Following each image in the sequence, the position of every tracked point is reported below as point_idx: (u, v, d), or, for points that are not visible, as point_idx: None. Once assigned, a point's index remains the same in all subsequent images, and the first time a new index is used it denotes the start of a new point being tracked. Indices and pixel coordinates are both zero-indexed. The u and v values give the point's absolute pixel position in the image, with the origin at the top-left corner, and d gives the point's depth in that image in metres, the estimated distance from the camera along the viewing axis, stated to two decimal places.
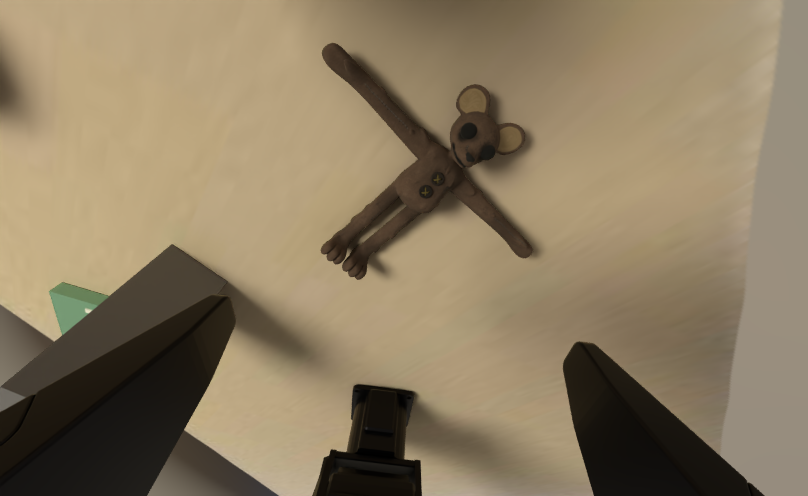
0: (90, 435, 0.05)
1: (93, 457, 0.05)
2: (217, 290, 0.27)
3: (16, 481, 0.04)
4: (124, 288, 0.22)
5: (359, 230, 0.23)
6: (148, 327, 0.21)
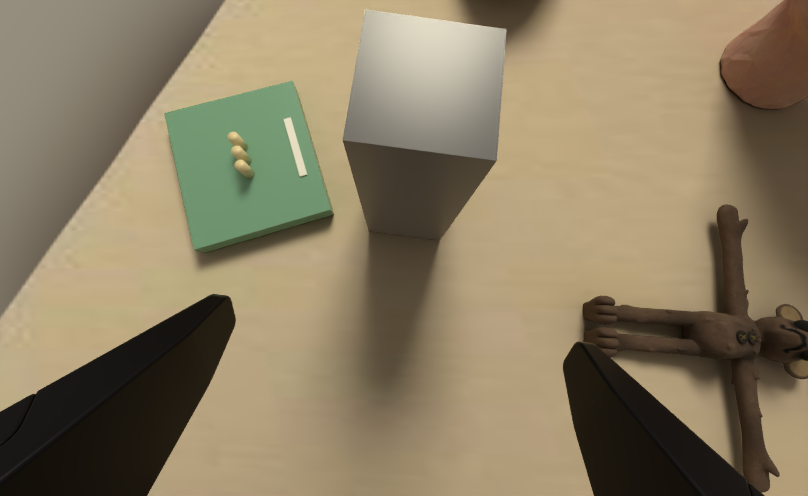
0: (90, 435, 0.05)
1: (93, 457, 0.05)
2: None
3: (16, 481, 0.04)
4: None
5: (626, 318, 0.22)
6: None
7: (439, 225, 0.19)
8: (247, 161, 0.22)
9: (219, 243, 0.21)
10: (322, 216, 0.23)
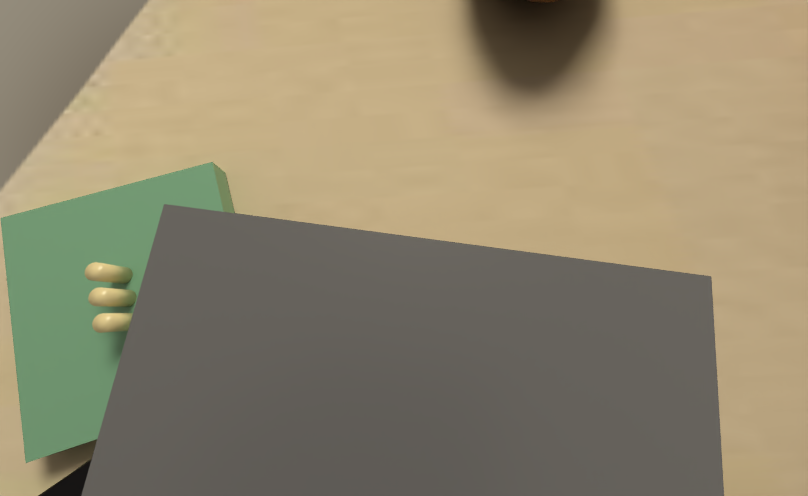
0: None
1: None
2: None
3: None
4: None
5: None
6: None
7: None
8: (126, 303, 0.13)
9: (74, 446, 0.13)
10: None
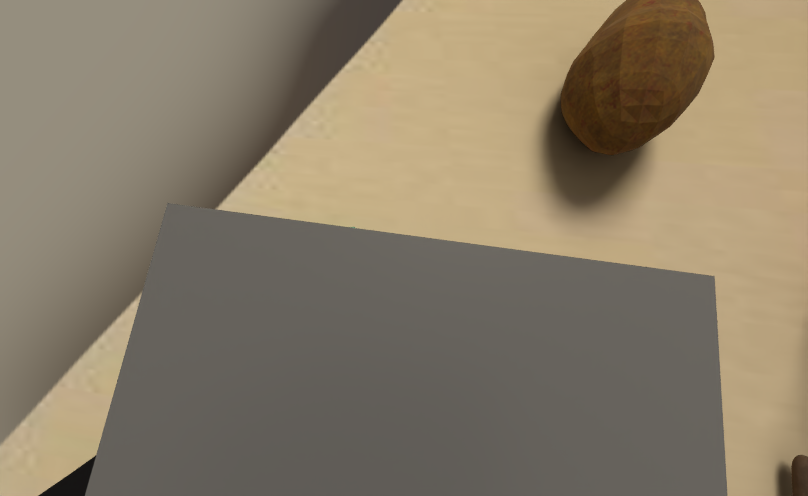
0: None
1: None
2: None
3: None
4: None
5: None
6: None
7: None
8: None
9: None
10: None
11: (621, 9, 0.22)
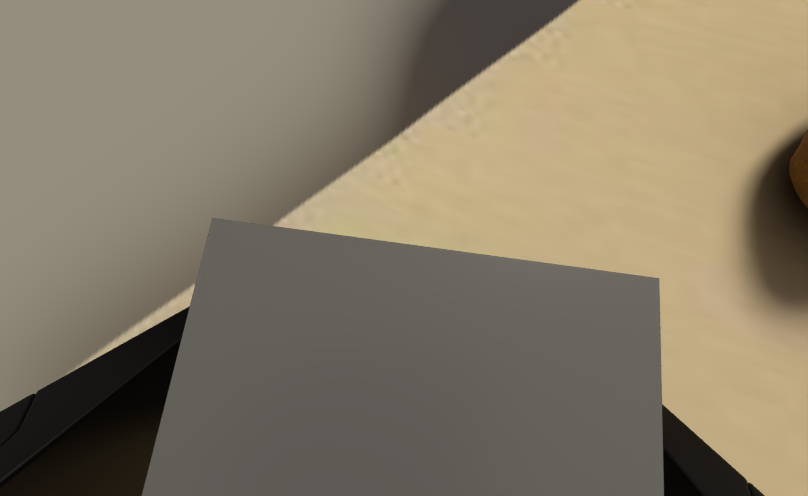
0: (90, 435, 0.05)
1: (93, 457, 0.05)
2: None
3: (16, 481, 0.04)
4: None
5: None
6: None
7: None
8: None
9: None
10: None
11: None
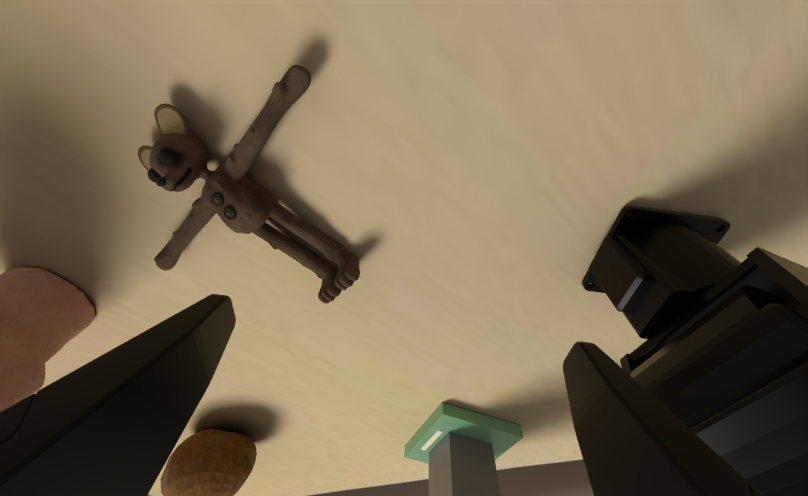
0: (90, 435, 0.05)
1: (93, 457, 0.05)
2: (448, 445, 0.32)
3: (16, 481, 0.04)
4: None
5: (313, 262, 0.23)
6: None
7: (456, 473, 0.30)
8: None
9: (509, 430, 0.33)
10: (449, 407, 0.33)
11: None
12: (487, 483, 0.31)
